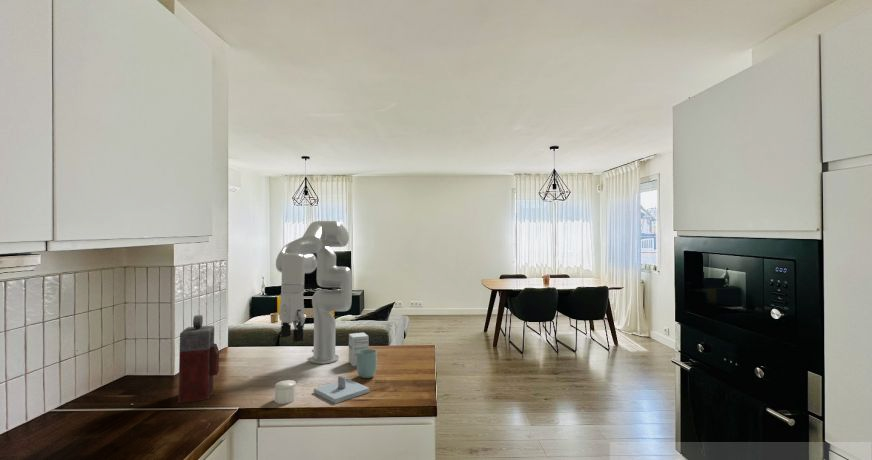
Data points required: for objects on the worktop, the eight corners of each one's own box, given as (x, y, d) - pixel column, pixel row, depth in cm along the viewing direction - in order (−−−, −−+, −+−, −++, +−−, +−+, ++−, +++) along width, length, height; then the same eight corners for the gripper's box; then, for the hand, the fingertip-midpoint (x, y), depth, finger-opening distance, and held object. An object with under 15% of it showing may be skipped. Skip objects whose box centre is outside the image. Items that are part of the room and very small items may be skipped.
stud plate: (313, 392, 140) (314, 376, 140) (347, 382, 150) (347, 368, 151) (335, 403, 131) (335, 386, 131) (369, 392, 141) (369, 376, 141)
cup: (366, 381, 151) (366, 355, 152) (352, 377, 156) (352, 352, 156) (380, 376, 158) (380, 351, 158) (367, 372, 162) (367, 347, 163)
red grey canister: (216, 398, 135) (217, 316, 136) (178, 402, 131) (180, 318, 132) (220, 389, 144) (221, 312, 144) (184, 393, 140) (186, 313, 140)
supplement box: (348, 362, 176) (348, 333, 177) (364, 360, 179) (364, 332, 180) (351, 366, 170) (352, 337, 170) (368, 364, 173) (369, 335, 173)
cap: (272, 399, 134) (272, 383, 134) (290, 394, 138) (290, 378, 138) (280, 405, 129) (280, 388, 129) (298, 399, 134) (299, 383, 134)
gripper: (272, 288, 141) (271, 336, 140) (293, 291, 128) (292, 344, 127) (292, 286, 146) (291, 333, 145) (314, 290, 133) (313, 341, 132)
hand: (291, 338), depth 136 cm, fingers open, 9 cm apart
